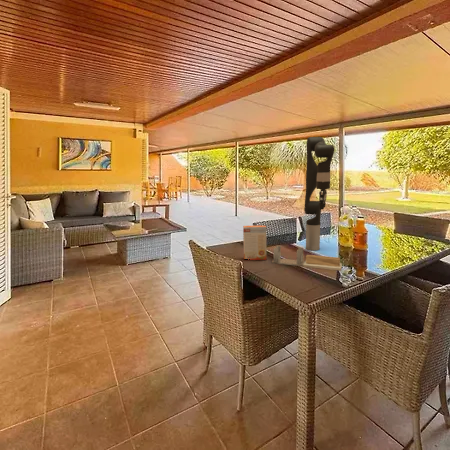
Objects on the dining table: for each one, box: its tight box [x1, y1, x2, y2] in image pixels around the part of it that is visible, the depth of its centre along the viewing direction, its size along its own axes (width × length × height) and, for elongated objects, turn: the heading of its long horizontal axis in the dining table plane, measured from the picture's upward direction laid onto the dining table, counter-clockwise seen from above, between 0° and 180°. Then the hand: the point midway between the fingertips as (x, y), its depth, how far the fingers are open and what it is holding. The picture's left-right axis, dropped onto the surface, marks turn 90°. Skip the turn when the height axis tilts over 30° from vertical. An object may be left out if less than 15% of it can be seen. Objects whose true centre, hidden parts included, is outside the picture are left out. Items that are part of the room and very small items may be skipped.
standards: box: [271, 245, 306, 267], centre depth 177 cm, size 8×18×9 cm, turn 66°
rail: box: [305, 254, 341, 267], centre depth 170 cm, size 4×18×4 cm, turn 66°
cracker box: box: [242, 225, 267, 261], centre depth 186 cm, size 14×6×21 cm, turn 86°
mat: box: [302, 260, 343, 271], centre depth 170 cm, size 10×20×1 cm, turn 66°
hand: (322, 208), depth 176 cm, fingers open, 8 cm apart
